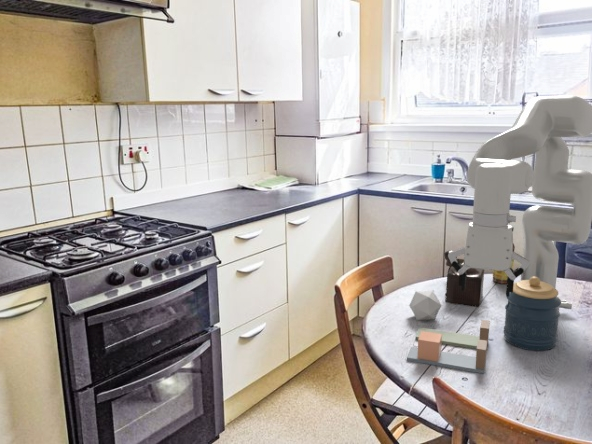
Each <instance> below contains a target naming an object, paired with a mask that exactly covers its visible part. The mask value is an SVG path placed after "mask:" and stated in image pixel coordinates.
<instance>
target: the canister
mask: <svg viewBox="0 0 592 444" xmlns="http://www.w3.org/2000/svg"><path fill="white" fill-rule="evenodd" d="M505 296H506V295H505ZM505 298H506V299H507V303H506V305H505V307H504V308H505V316H504V326H503V334H504V335H503V336H504V339H505V340H506V341H507V342H508V343H509V344H511V345H513V346H515V347H517V348H521V349H524V350H528V351H547V350H551V349H553V348H555V347H556V343H557V341H558V338H559V337H558V331H559V330H558V328H559V320H560V316H561V312H560V310H559V311H558V307H559V306H560V305H561V300H562V299H560V298H559V291H558V289H556V288H554V287H552V286H551V285H550V284H548V283H545V282H542V281H540V279H539V278H538V277H535V276H533V277H531V278H530V280H521V279H520V280H518V281H517V282H514V286H513V292H510V294H509V297H507V296H506V297H505Z"/></svg>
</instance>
